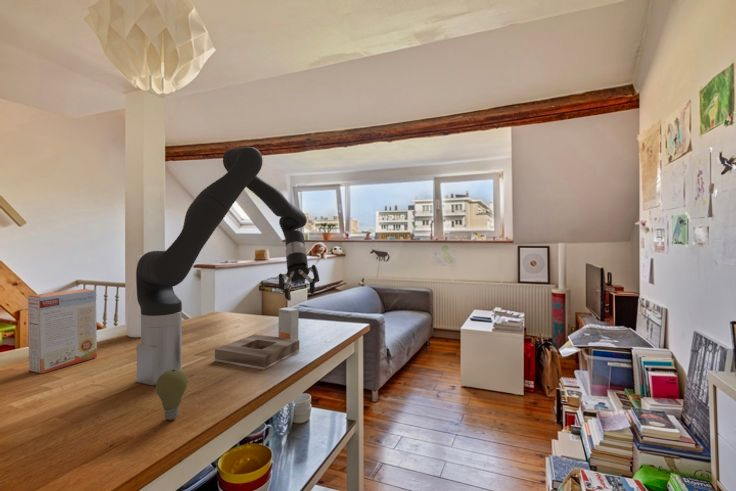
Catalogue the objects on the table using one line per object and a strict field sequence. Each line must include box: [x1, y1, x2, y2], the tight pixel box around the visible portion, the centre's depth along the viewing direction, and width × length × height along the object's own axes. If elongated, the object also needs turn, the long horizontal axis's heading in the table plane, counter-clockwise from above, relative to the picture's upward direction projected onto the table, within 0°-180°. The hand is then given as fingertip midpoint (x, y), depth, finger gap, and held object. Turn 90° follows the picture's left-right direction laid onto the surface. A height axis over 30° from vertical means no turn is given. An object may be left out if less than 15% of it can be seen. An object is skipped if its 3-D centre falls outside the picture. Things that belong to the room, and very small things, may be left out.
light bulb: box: [155, 369, 188, 421], centre depth 69 cm, size 6×6×10 cm
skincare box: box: [277, 307, 300, 340], centre depth 123 cm, size 6×4×12 cm
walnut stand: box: [214, 333, 300, 371], centre depth 108 cm, size 18×18×4 cm
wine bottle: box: [126, 254, 144, 338], centre depth 130 cm, size 10×10×30 cm
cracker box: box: [27, 288, 98, 375], centre depth 99 cm, size 14×6×21 cm, turn 160°
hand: (300, 296), depth 119 cm, fingers open, 8 cm apart
